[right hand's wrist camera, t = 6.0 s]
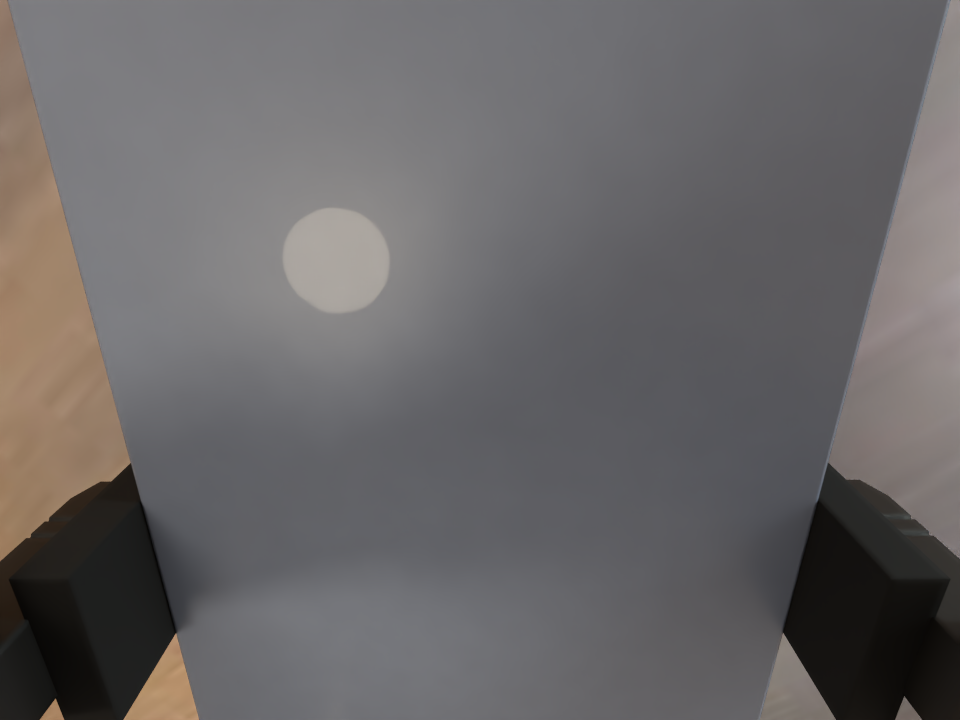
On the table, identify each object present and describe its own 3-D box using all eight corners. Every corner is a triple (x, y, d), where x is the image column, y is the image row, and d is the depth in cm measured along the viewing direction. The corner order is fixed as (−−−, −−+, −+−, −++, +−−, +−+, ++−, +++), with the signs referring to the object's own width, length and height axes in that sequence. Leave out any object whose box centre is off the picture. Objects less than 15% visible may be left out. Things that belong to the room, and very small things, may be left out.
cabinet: (274, -72, 14) (-125, -477, 5) (683, -72, 14) (1079, -473, 5) (335, 471, 20) (209, 764, 11) (623, 470, 20) (750, 764, 11)
